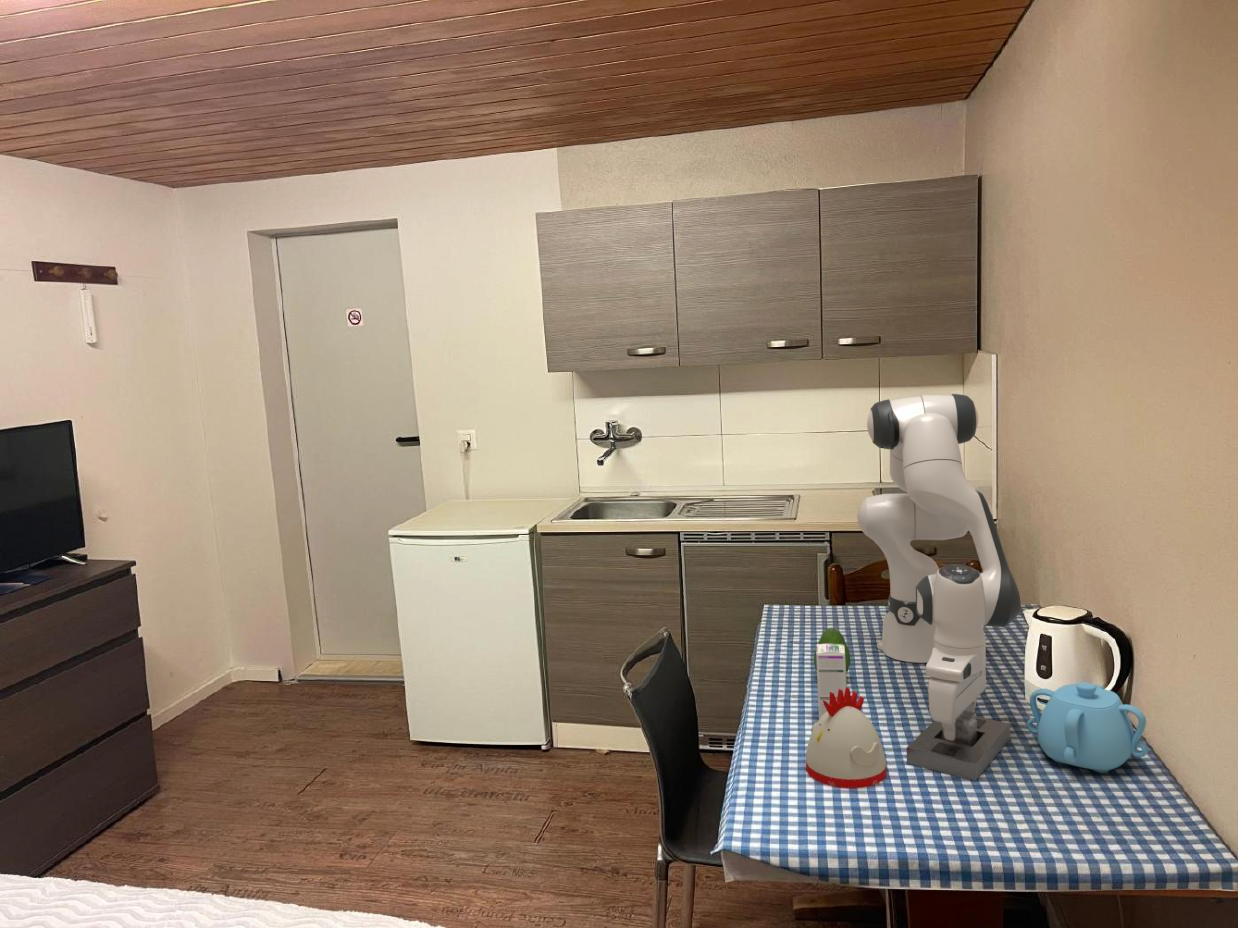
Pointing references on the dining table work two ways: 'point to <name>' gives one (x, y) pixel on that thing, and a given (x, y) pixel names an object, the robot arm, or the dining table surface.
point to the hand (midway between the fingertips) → (959, 729)
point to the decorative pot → (1087, 727)
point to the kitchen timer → (845, 745)
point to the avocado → (834, 638)
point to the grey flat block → (959, 749)
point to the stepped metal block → (965, 729)
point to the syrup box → (830, 672)
